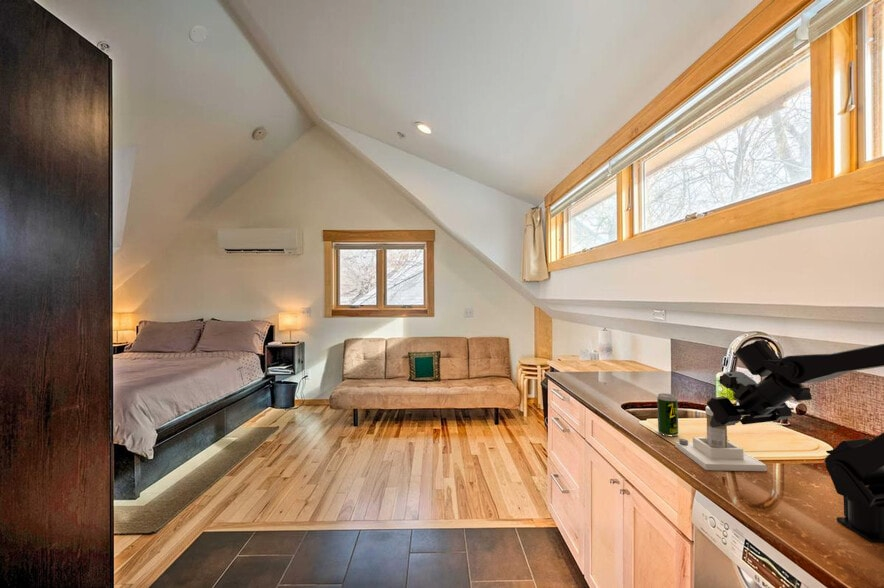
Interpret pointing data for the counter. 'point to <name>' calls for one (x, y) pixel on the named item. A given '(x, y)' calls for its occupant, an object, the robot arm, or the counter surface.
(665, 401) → the beer can
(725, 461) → the housing
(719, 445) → the sprinkles bottle
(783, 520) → the counter surface
